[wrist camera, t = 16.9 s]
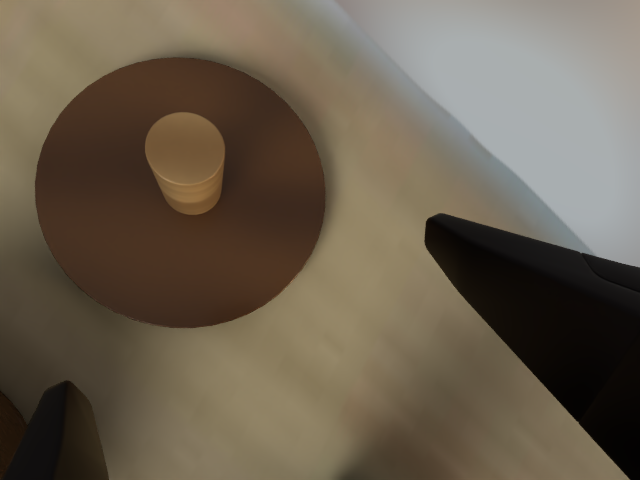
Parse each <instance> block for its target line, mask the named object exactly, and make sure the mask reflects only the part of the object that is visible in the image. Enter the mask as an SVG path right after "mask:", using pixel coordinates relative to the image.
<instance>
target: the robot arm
mask: <svg viewBox="0 0 640 480" xmlns="http://www.w3.org/2000/svg"><path fill="white" fill-rule="evenodd" d="M425 246H426V248H427V250H428V251H429V253H430V254H431V255H432V257H433V258H434V260H435V261H436V262H437V264H438V265H439V266H440V268H441V269H442V270H443V272H444V273H445V274H446V276H447V277H448V279H449V280H450V281H451V283H452V284H453V285H454V287H455V288H456V289H457V290H458V292H459V293H460V294H461V295H462V296H463V297H464V299H465V300H466V301H467V302H468V303H469V304H470V305H471V306H472V307H473V308H474V309H475V311H476V312H477V313H478V314H479V315H480V316H481V317H482V318H483V319H484V320H485V321H486V323H487V324H488V325H489V326H490V327H491V328H492V329H493V330H494V331H495V332H496V333H497V335H498V336H499V337H500V338H501V339H502V340H503V341H504V342H505V343H506V344H507V345H508V347H509V348H510V349H511V350H512V351H513V352H514V353H515V354H516V355H517V356H518V358H519V359H520V360H521V361H522V362H523V363H524V364H525V365H526V366H527V367H528V368H529V370H530V371H531V372H532V373H533V374H534V375H535V376H536V377H537V378H538V379H539V380H540V382H541V383H542V384H543V385H544V386H545V387H546V388H547V389H548V390H549V391H550V392H551V394H552V395H553V396H554V397H555V398H556V399H557V400H558V401H559V402H560V403H561V404H562V406H563V407H564V408H565V409H566V410H567V411H568V412H569V413H570V414H571V415H572V416H573V418H574V419H575V420H576V421H577V422H579V424H580V426H581V427H582V428H583V429H584V430H585V431H586V432H587V433H588V434H589V435H590V436H591V438H592V439H593V440H594V441H595V442H596V443H597V444H598V445H599V446H600V447H601V448H602V450H603V451H604V452H605V453H606V454H607V455H608V456H609V457H610V458H611V459H612V460H613V462H614V463H615V464H616V465H617V466H618V467H619V468H620V469H621V470H622V471H623V472H624V474H625V475H626V476H627V477H628V478H629V479H630V480H640V268H639V267H635V266H630V265H626V264H622V263H618V262H615V261H611V260H607V259H603V258H599V257H596V256H592V255H589V254H585V253H580V252H578V251H574V250H571V249H567V248H564V247H560V246H557V245H553V244H550V243H546V242H543V241H539V240H535V239H532V238H528V237H525V236H521V235H518V234H514V233H511V232H507V231H504V230H500V229H497V228H493V227H489V226H486V225H482V224H479V223H475V222H472V221H468V220H465V219H461V218H458V217H454V216H451V215H447V214H443V213H439V214H437V215H434V216H432V217H430V218H428V219H427V221H426V228H425ZM2 480H109V477H108V472H107V467H106V463H105V459H104V454H103V450H102V446H101V442H100V438H99V434H98V430H97V426H96V422H95V418H94V414H93V410H92V406H91V404H90V402H89V400H88V399H87V398H86V397H85V395H84V394H83V393H82V392H81V391H80V390H79V389H78V388H77V387H76V386H75V385H74V384H73V383H72V382H71V381H68V380H66V381H63V382H60V383H58V384H56V385H54V386H52V387H49V388H48V389H47V390H46V391H45V392H44V394H43V396H42V398H41V400H40V402H39V404H38V406H37V408H36V410H35V412H34V414H33V416H32V418H31V420H30V423H29V425H28V427H27V429H26V431H25V433H24V435H23V437H22V439H21V441H20V443H19V445H18V447H17V449H16V451H15V453H14V456H13V458H12V460H11V462H10V464H9V466H8V468H7V470H6V472H5V474H4V476H3V478H2Z"/></svg>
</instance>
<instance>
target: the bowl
mask: <svg viewBox="0 0 640 480" xmlns="http://www.w3.org/2000/svg"><path fill="white" fill-rule="evenodd" d="M27 427H28V426H27V424H26V422H25V420H24V418H23V417H22V415H21V414H20V413H19V411H18V410H17V409H16V407H15V406H14V405H13V403H12V402H11V401H10V400H9V399H8V398H7V397H6V396H5V395H4V394H3V393H2V392H1V391H0V480H2V478H3V476H4V474H5V472H6V470H7V468H8V466H9V464H10V462H11V460H12V458H13V456H14V453H15V451H16V449H17V447H18V445H19V443H20V441H21V439H22V437H23V435H24V433H25V431H26V429H27Z"/></svg>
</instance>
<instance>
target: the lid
mask: <svg viewBox="0 0 640 480" xmlns="http://www.w3.org/2000/svg"><path fill="white" fill-rule="evenodd" d="M35 198H36V208H37V213H38V219H39V223H40V226H41V229H42V232H43V235H44V238H45V240H46V242H47V244H48V246H49V248H50V250H51V252H52V254H53V256H54V258H55V259H56V261H57V262H58V263H59V265H60V266H61V268H62V269H63V270H64V272H65V273H66V275H67V276H68V277H69V278H70V279H71V280H72V281H73V282H74V283H75V284H76V285H77V286H78V287H79V288H80V289H81V290H82V291H84V292H85V293H86V294H87V295H89V296H90V297H91V298H93V299H94V300H95V301H96V302H98V303H100V304H102V305H103V306H105V307H107V308H108V309H110V310H112V311H113V312H116V313H118V314H120V315H123V316H125V317H128V318H130V319H132V320H136V321H139V322H143V323H147V324H150V325H156V326H163V327H170V328H196V327H204V326H212V325H216V324H220V323H224V322H228V321H231V320H234V319H237V318H239V317H242V316H244V315H247V314H249V313H251V312H253V311H254V310H256V309H258V308H260V307H262V306H264V305H265V304H266V303H268V302H269V301H271V300H272V299H273V298H275V297H276V296H277V295H279V294H280V293H281V292H282V291H283V290H284V289H285V288H286V287H287V286H288V285H289V284H290V283H291V282H292V281H293V280H294V279H295V277H296V276H297V275H298V274H299V272H300V271H301V270H302V269H303V267H304V265H305V264H306V262H307V260H308V259H309V257H310V256H311V254H312V251H313V249H314V247H315V245H316V242H317V240H318V237H319V234H320V230H321V227H322V223H323V217H324V211H325V182H324V174H323V170H322V165H321V161H320V158H319V155H318V152H317V150H316V147H315V144H314V142H313V140H312V138H311V136H310V135H309V133H308V131H307V129H306V127H305V126H304V124H303V123H302V122H301V120H300V119H299V117H298V116H297V114H296V113H295V112H294V111H293V110H292V109H291V108H290V106H289V105H288V104H287V103H286V102H285V101H284V100H283V99H282V98H280V97H279V96H278V95H277V94H276V93H275V92H274V91H273V90H271V89H270V88H268V87H267V86H266V85H264V84H263V83H261V82H260V81H258V80H256V79H255V78H253V77H251V76H249V75H247V74H245V73H244V72H241V71H239V70H236V69H234V68H231V67H229V66H226V65H222V64H219V63H215V62H212V61H206V60H200V59H194V58H161V59H153V60H148V61H143V62H138V63H135V64H132V65H129V66H126V67H123V68H120V69H118V70H116V71H113V72H111V73H109V74H107V75H105V76H103V77H102V78H100V79H98V80H97V81H95V82H94V83H92V84H91V85H89V86H88V87H86V88H85V89H84V90H83V91H82V92H81V93H80V94H78V95H77V96H76V97H75V98H74V99H73V100H72V101H71V102H70V103H69V104H68V105H67V107H66V108H65V109H64V110H63V111H62V112H61V114H60V115H59V117H58V118H57V120H56V121H55V123H54V124H53V126H52V127H51V129H50V131H49V134H48V136H47V138H46V140H45V142H44V144H43V147H42V151H41V154H40V158H39V161H38V165H37V172H36V180H35Z"/></svg>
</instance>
